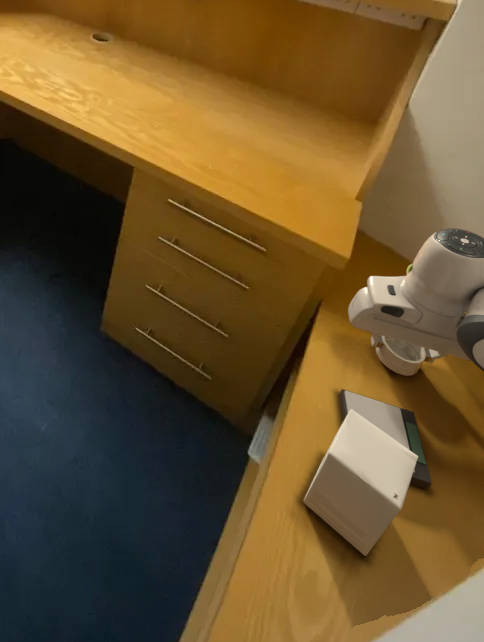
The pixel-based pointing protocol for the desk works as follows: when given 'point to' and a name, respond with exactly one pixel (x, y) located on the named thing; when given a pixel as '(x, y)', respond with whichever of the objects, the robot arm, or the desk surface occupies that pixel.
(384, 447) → the rectangular carton
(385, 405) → the scale
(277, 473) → the desk surface
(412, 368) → the bowl
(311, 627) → the desk surface
